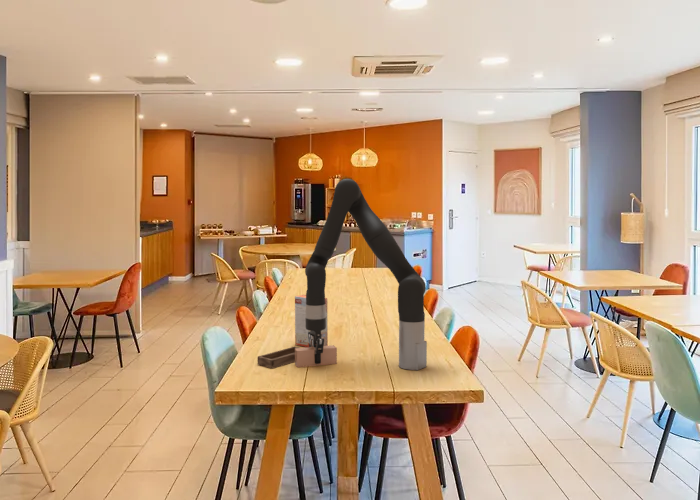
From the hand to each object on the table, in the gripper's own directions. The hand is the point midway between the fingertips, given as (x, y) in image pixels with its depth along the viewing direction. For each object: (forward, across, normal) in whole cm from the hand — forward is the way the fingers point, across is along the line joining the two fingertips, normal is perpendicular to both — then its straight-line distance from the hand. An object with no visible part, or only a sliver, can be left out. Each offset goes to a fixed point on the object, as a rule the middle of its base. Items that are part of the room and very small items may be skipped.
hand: (315, 361), depth 215 cm
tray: (+1, +8, +10) cm, 13 cm away
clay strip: (+1, 0, 0) cm, 1 cm away
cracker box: (+1, +25, -5) cm, 25 cm away
